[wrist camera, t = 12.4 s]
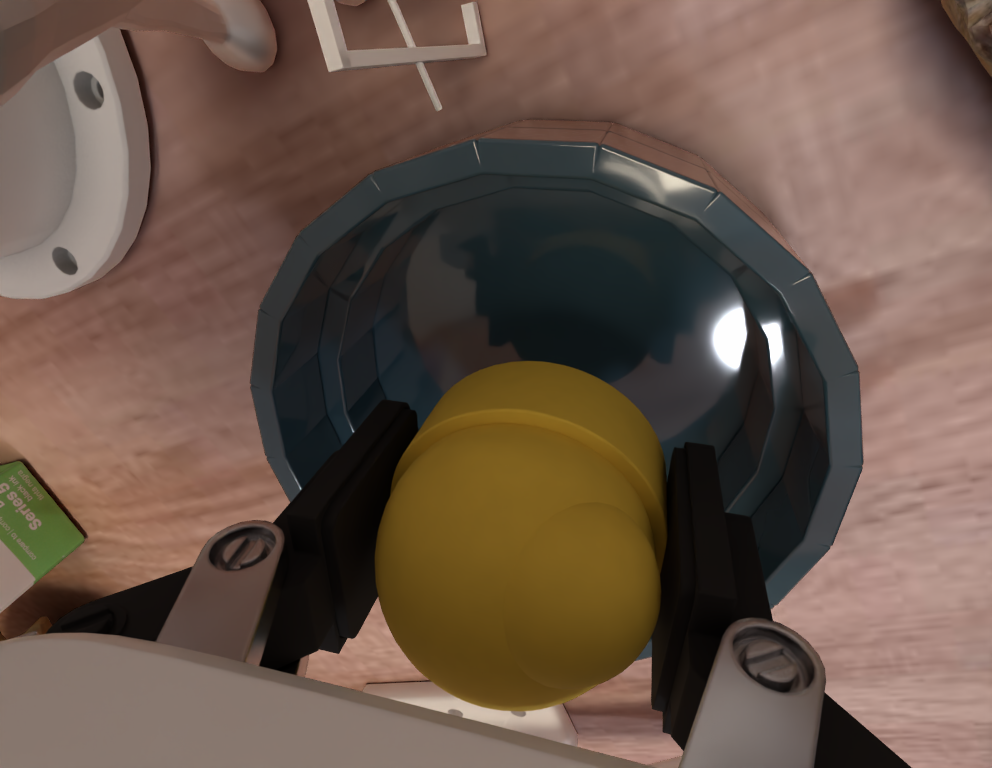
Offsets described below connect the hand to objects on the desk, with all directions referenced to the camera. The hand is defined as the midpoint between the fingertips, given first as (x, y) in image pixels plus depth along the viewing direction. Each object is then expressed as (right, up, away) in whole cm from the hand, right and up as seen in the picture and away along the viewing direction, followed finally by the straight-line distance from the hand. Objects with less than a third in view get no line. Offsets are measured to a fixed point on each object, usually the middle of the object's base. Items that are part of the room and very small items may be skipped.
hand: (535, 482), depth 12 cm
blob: (0, 0, 0) cm, 0 cm away
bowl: (+1, +3, +5) cm, 5 cm away
